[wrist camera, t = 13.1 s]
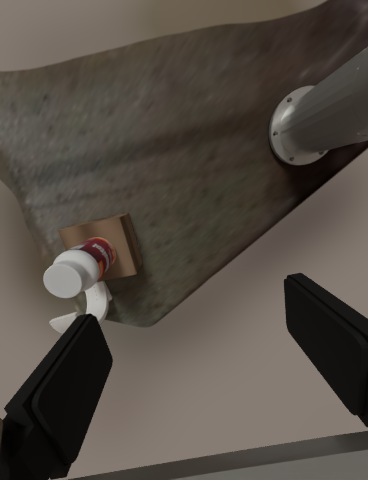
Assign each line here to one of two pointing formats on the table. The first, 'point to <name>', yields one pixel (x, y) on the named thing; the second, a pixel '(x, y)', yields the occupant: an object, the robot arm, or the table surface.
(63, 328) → the headphone stand
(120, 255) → the walnut block
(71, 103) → the table surface
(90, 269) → the pill bottle
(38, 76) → the table surface
